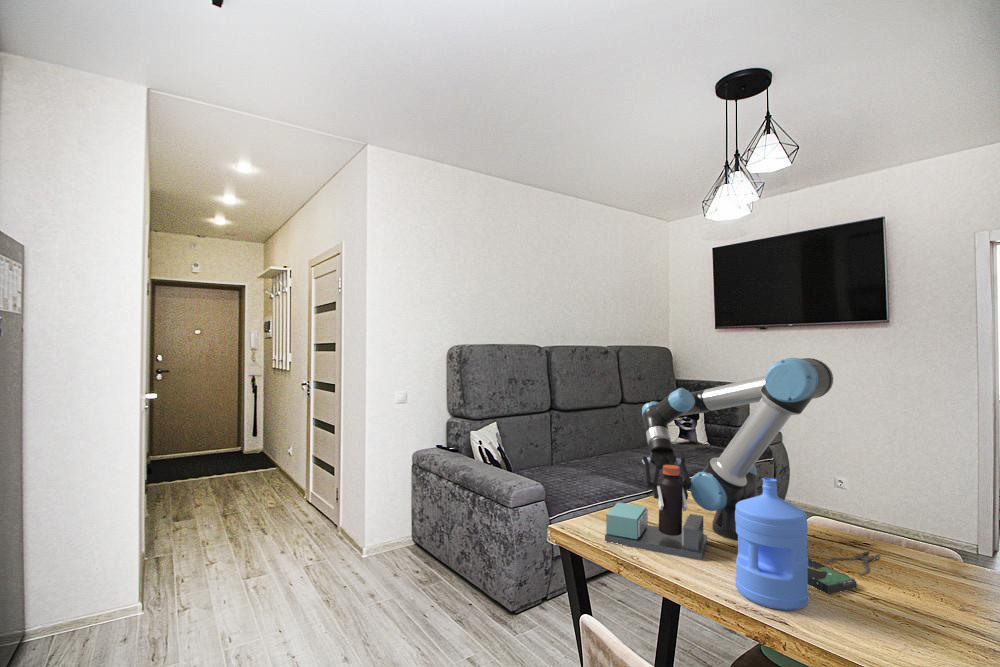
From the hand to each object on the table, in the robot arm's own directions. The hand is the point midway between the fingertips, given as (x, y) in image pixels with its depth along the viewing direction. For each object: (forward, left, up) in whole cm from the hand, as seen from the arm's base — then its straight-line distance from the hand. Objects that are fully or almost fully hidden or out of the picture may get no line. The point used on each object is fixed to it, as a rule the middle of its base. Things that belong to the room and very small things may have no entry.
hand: (673, 508), depth 148 cm
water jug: (-25, +18, -12) cm, 33 cm away
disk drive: (-36, +2, -13) cm, 38 cm away
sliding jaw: (+14, -3, -10) cm, 18 cm away
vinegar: (+1, -3, -9) cm, 9 cm away
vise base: (+6, -3, -12) cm, 14 cm away
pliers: (-46, -16, -13) cm, 51 cm away
